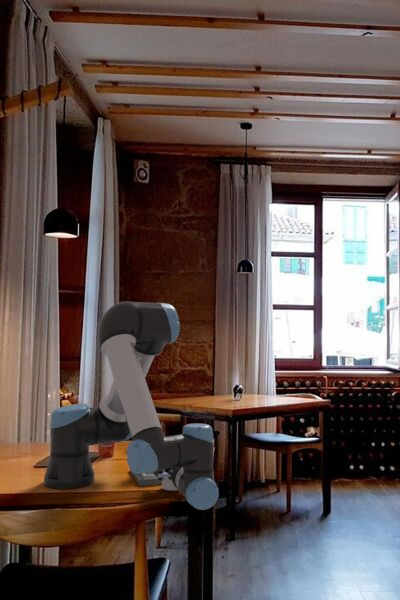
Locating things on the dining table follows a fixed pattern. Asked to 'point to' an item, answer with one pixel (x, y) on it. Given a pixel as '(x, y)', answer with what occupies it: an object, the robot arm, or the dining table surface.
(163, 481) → the can
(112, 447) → the paper cup
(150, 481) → the pocket board
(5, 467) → the dining table surface
